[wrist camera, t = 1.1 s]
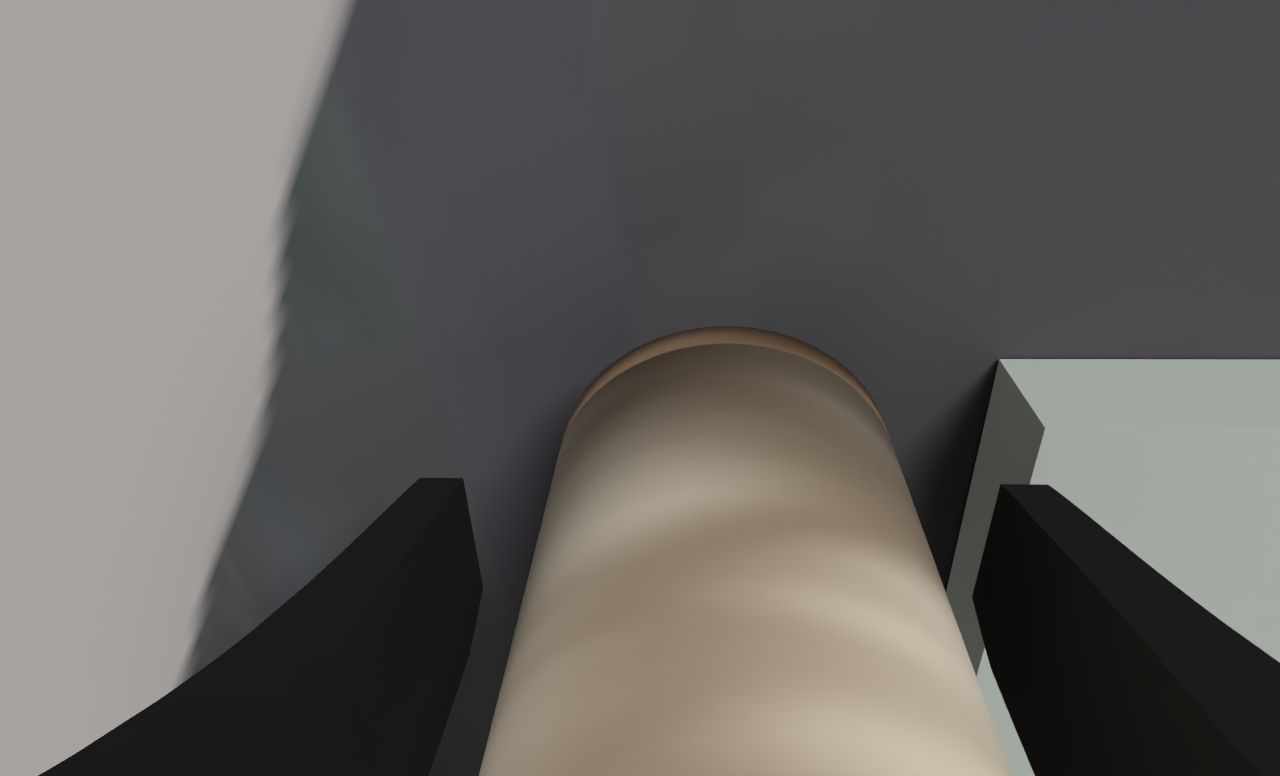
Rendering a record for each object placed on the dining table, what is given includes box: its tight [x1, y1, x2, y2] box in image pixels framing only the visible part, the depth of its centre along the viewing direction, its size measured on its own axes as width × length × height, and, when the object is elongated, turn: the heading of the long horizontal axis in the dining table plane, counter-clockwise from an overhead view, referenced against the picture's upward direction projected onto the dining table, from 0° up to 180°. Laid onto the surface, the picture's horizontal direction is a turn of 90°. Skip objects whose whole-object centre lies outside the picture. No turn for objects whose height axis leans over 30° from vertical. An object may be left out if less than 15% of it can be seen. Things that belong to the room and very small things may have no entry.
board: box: [946, 359, 1280, 776], centre depth 16 cm, size 11×18×2 cm, turn 1°
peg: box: [479, 326, 1012, 776], centre depth 10 cm, size 5×5×9 cm
